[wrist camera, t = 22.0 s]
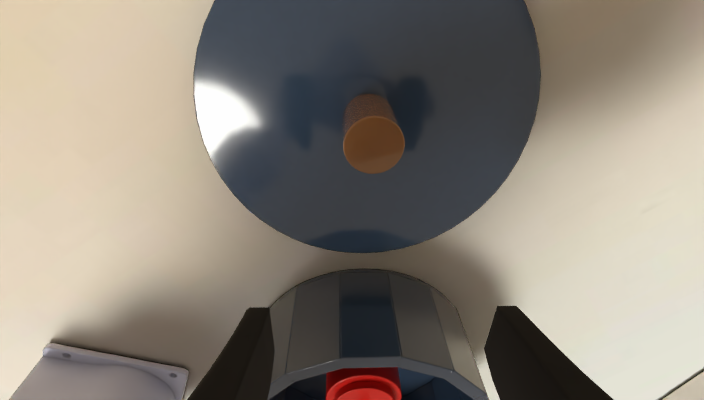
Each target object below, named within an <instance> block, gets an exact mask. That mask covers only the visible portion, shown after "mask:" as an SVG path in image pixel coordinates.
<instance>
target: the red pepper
mask: <svg viewBox="0 0 704 400" xmlns="http://www.w3.org/2000/svg"><path fill="white" fill-rule="evenodd" d="M401 398H402V391H401V385H400V378H399V372H398V367H384V368H342V369H339V370H335V371H332V372H328V373H327V374H326V400H401Z"/></svg>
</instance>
